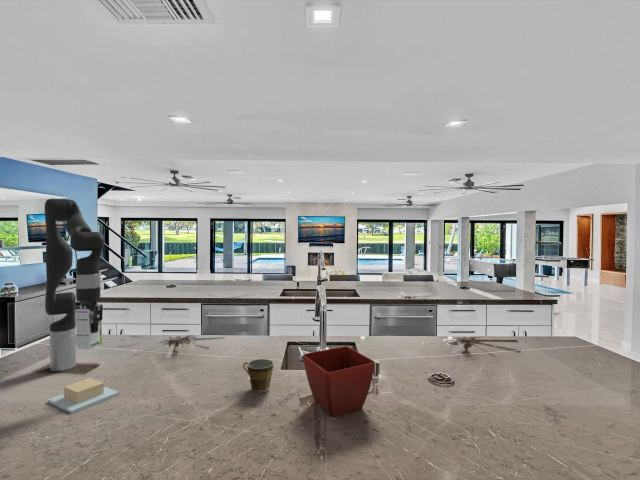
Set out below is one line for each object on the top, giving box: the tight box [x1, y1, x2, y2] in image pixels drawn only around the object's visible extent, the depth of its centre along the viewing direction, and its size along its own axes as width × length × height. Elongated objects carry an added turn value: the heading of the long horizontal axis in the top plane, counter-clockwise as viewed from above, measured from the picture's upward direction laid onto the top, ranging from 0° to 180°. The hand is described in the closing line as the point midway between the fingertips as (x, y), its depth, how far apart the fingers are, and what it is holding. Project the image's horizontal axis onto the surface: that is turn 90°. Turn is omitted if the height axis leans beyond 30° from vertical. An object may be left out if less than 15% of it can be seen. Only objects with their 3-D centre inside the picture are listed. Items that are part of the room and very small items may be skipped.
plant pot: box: [302, 346, 376, 417], centre depth 125 cm, size 19×19×17 cm
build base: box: [47, 377, 120, 414], centre depth 130 cm, size 16×16×5 cm
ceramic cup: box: [242, 358, 274, 394], centre depth 139 cm, size 13×10×10 cm
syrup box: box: [75, 308, 103, 350], centre depth 132 cm, size 6×6×14 cm
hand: (88, 331), depth 132 cm, fingers closed on syrup box, 6 cm apart
